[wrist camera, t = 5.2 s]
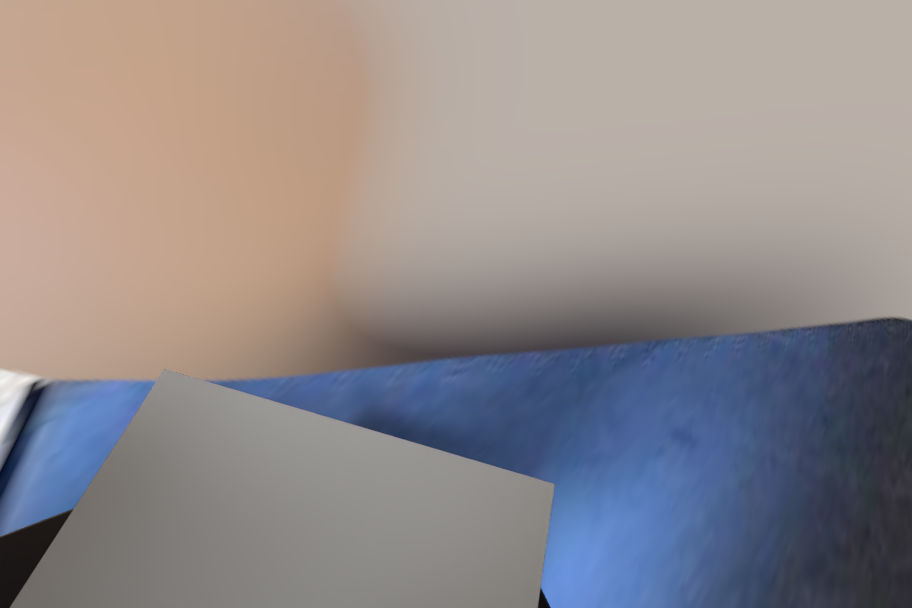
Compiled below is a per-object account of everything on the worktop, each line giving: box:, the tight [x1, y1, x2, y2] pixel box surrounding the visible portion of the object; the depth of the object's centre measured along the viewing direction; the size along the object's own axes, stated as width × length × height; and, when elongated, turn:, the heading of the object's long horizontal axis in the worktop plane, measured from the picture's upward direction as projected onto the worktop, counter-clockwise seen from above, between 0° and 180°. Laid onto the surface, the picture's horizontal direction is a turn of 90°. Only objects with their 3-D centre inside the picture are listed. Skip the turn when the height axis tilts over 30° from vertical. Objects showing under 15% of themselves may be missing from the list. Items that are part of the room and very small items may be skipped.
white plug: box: [10, 369, 555, 608], centre depth 8 cm, size 4×4×10 cm
